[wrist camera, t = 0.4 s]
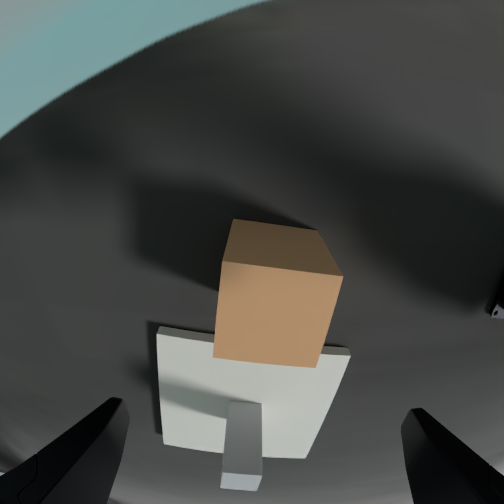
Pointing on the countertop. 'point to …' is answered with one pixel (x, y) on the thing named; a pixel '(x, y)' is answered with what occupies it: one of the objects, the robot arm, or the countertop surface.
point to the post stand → (241, 403)
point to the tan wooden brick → (275, 295)
